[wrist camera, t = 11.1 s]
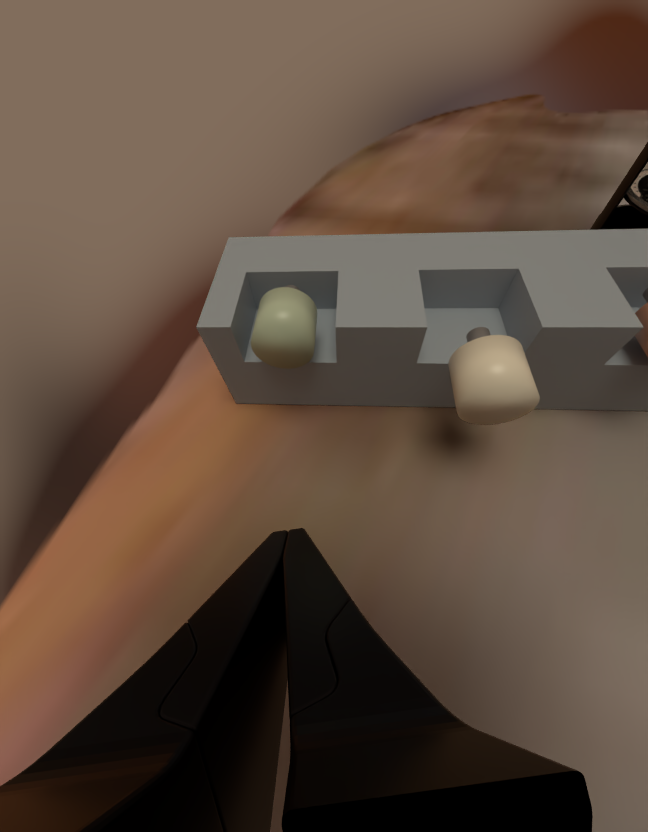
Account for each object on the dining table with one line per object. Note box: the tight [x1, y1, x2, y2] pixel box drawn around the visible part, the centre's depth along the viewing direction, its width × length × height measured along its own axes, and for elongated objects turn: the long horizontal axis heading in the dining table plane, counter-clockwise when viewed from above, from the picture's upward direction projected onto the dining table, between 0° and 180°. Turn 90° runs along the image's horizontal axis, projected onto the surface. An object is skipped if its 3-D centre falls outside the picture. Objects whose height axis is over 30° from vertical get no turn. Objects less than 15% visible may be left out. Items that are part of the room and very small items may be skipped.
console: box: [196, 229, 648, 411], centre depth 23 cm, size 9×32×8 cm, turn 87°
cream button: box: [448, 327, 540, 425], centre depth 17 cm, size 5×4×4 cm
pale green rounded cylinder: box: [251, 285, 317, 369], centre depth 20 cm, size 5×4×4 cm
